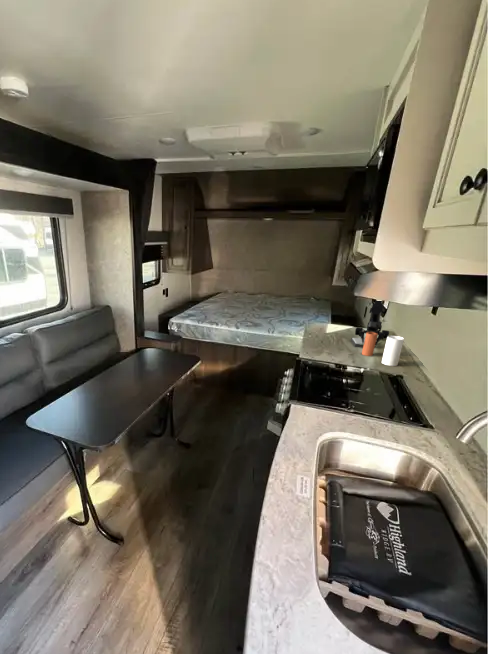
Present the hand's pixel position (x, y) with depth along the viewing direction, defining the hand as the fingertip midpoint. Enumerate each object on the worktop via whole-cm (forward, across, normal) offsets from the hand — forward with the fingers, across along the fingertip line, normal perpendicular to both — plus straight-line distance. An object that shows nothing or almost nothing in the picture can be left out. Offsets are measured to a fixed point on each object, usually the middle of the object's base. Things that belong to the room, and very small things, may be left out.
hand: (369, 344), depth 206 cm
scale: (-12, -5, +22) cm, 25 cm away
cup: (+12, +13, -2) cm, 18 cm away
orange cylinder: (+4, 0, +6) cm, 7 cm away
